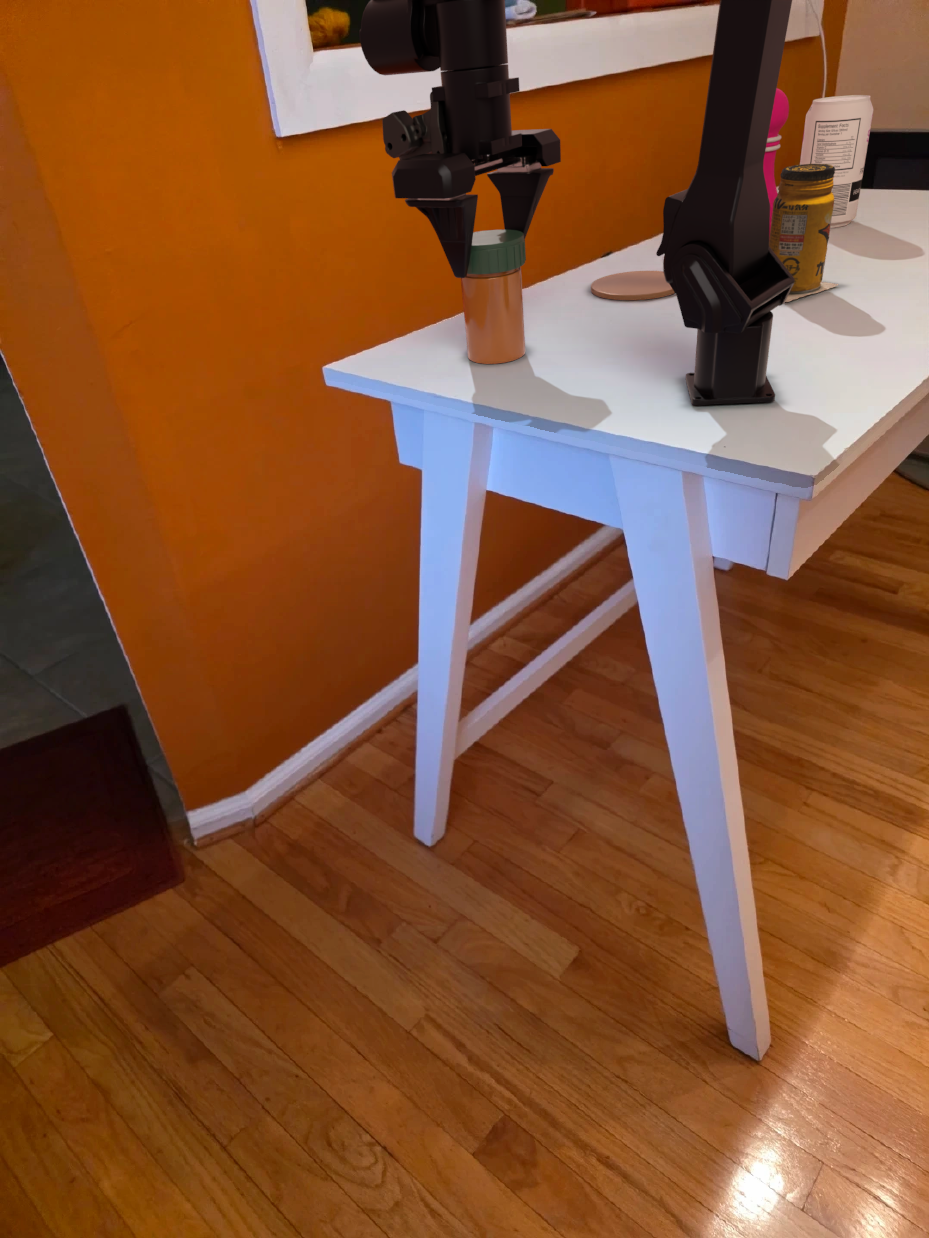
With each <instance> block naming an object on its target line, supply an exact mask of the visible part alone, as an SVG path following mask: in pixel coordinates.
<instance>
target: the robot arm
mask: <svg viewBox="0 0 929 1238" xmlns="http://www.w3.org/2000/svg"><path fill="white" fill-rule="evenodd" d="M792 4H793V0H719V5H718V13H717V20H716V27H715V34H714V35H715V36H714V42H713V50H712V57H711V65H710V72H709V78H708V79H709V80H708V86H707V87H708V88H707V95H706V100H705V101H706V103H705V109H704V115H703V116H704V117H703V124H702V132H701V139H700V147H699V152H698V153H699V155H698V160H697V166H696V170H695V173H694V175H693V177H692V179H691V182H690V183H689V185H688V187H687V189H684V190H682V191H679V192H676V193H674V194H672V195H669V196H667V197H666V198H665V199H664V204H663V209H662V217H663V221H662V222H663V228H662V231H663V232H662V237H661V241H660V245H659V247H658V249H657V251H656V252H655V253H656V256H657V257H661V256H663V255H664V256H663V259H662V260H663V261H662V263H663V264H662V270H663V272H664V276H665V280H666V282H667V283H669V284H670V286H671V287H672V289H673V290H674V292H675V293H674V294H675V295H676V299H677V302H678V306H679V311H680V314H681V317H682V322H683V326H684V327H685V328H686V329H695V330H697V331H696V345H695V359H694V360H695V362H694V372H687V373H686V374H685V382H686V387H687V389H688V390H687V391H688V394H689V398H690V402H691V404H692V405H696V406H707V405H708V406H709V405H710V406H711V405H729V404H730V405H731V404H732V405H733V404H734V405H735V404H753V403H756V404H757V403H772V402H775V400H776V393H775V391H774V389H773V387H772V384H771V383H770V381H769V379H768V376H767V371H768V370H767V369H768V363H769V362H768V361H769V354H770V345H771V338H772V329H773V321H774V313H773V312H772V311H773V310H774V309H776V308H777V307H780V306H782V305H783V304H785V303H786V302H785V301H786V299H787V297H788V295H789V293H790V291H791V289H792V287H793V284H794V282H795V280H794V277H793V276H792V275H791V273H790V272H789V271H788V270H787V268H786V267H785V266H784V265H783V263H782V262H781V261H780V259H779V258H778V257H777V256H776V254H775V253H774V252H773V251H772V249H771V248H770V247H769V226H770V202H769V197H768V192H767V187H766V182H765V177H764V171H763V162H764V155H765V150H766V144H767V139H768V133H769V127H770V122H771V116H772V111H773V105H774V99H775V94H776V88H778V82H779V77H780V71H781V66H782V65H781V64H782V59H783V55H784V48H785V42H786V37H787V31H788V26H789V21H790V20H789V19H790V14H791V9H792ZM358 35H359V43H360V47H361V51H362V53H363V56H364V59H365V60H366V62H367V64H368V66H369V67H370V68H371V69H372V70H373V72H375V73H377V74H378V75H382V76H393V75H405V74H416V73H428V72H435V71H437V70H438V69H440V80H441V83H440V84H441V85H437V86H433V87H431V92H430V93H429V102H430V109H428V110H427V111H426V112H424V113H422V114H418V115H414V116H413V117H412V116H411V115H410V114H409V112H408V111H406V110H405V109H404V110H399V111H394V112H391V113H389V114H387V115H386V116H384V117H383V118H382V119H381V120H382V121H381V122H382V139H383V143H384V150H385V153H386V154H387V155H388V156H389V157H390V158H392V159H399V160H397V162H396V164H395V165H394V168H393V170H392V172H391V178H392V187H393V193H394V194H393V195H394V198H395V199H404V201H405V204H406V205H407V206H408V208H409V207H410V208H416V209H417V210H418V211H419V212H420V213H421V214H422V215H424V216H425V217H426V218H427V220H429V221H428V222H430V225H431V227H432V229H433V230H434V232H435V234H436V236H437V239H438V240H439V243H440V245H441V248H442V250H443V252H444V255H445V257H446V259H447V262H448V264H449V266H450V269H451V271H452V273H453V276H454V277H455V278H456V279H461V278H465V277H466V276H467V272H468V267H469V262H470V254H471V246H472V239H473V232H475V221H476V216H477V208H478V200H479V195H478V194H473V193H472V191H473V188H474V185H475V183H476V179H477V178H476V177H477V176H480V175H483V174H486V176H487V178H489V180H490V182H491V183H492V185H493V186H494V187H495V189H496V190H497V192H498V193H499V197H500V205H501V212H502V213H501V214H502V220H503V228H504V230H517V231H520V232H522V233H523V234H524V240H525V241H526V237H527V235H528V232H529V230H530V227H531V224H532V221H533V218H534V216H535V213H536V210H537V208H538V205H539V202H540V200H541V198H542V195H543V193H544V191H545V189H546V187H547V184H548V181H549V179H550V177H551V176H553V175H554V171H555V169H554V168H553V167H551V166H552V165H553V166H554V165H556V164H558V163H561V162H562V159H561V158H562V157H561V155H562V154H561V153H562V152H561V150H562V149H561V138H560V137H559V136H558V135H557V134H556V133H555V131H554V130H553V129H552V128H543V129H542V128H539V129H536V128H535V129H515V130H513V129H512V111H511V110H512V109H511V94H513V93H518V92H520V77H510V74H509V56H508V55H509V54H508V38H507V37H508V35H507V19H506V1H505V0H369V1H368V3H367V4H366V6H365V7H364V10H363V12H362V16H361V21H360V29H359V32H358ZM469 193H472V194H469Z"/></svg>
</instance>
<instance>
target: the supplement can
mask: <svg viewBox="0 0 929 1238" xmlns="http://www.w3.org/2000/svg"><path fill="white" fill-rule="evenodd" d="M873 116H874V106H873V103H872V100H871V95H869V94H868V95H866V94H852V95H836V96H829V97H822V98H821V97H820V98H815V99H813V100H812V103H811V105H810V107H809V109H808V111H807V112H806V114H805V120H804V121H805V122H804V129H803V136H802V145H801V153H800V160H799V161H800V162H799V165H802V164H828V165H832V166H833V167H835V174H834V178H833V184H834V185H833V188H832V193H833V195H834V207H833V213H832V219H831V226H830V229H833V228H840V227H844V226H845V227H846V226H847V225H849V224H851V222H852V221H854V219H856V217H857V213H858V206H859V200H860V194H861V189H862V182H863V176H864V170H865V164H866V158H867V152H868V147H869V146H868V145H869V140H870V133H871V127H872V121H873Z"/></svg>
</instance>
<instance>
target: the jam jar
mask: <svg viewBox="0 0 929 1238" xmlns="http://www.w3.org/2000/svg"><path fill="white" fill-rule="evenodd" d="M522 278H523V276H522V266H521V267H519V268H516V269H513V270H510V271H505V272H500V273H493V274H467V276H466V277H465V278H460V284H461V296H462V307H463V317H464V328H465V338H466V339H465V340H466V349H467V350H466V351H467V358H468V359H469V360H470V362H473V363H477V364H483V365H496V364H497V365H498V364H504V363H505V364H506V363H509V362H513V361H516V360H519V359H520V358H522V357H523V356H525V354H526V337H525V319H524V317H525V316H524V302H523V301H524V297H523V279H522Z"/></svg>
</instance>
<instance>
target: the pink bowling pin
mask: <svg viewBox="0 0 929 1238" xmlns="http://www.w3.org/2000/svg"><path fill="white" fill-rule="evenodd" d="M789 103H790V102H789V99H788V97H787V95H786V94H785V92H783V90H782V89H780V88H778V87H777V88H776V94H775V99H774V105H773V111H772V116H771V122H770V127H769V133H768V139H767V144H766V150H765V155H764V162H763V171H764V177H765V182H766V187H767V192H768V197H769V202H770V226H769V237H770V229H771V221H772V212H773V203H774V200H775V198H776V197H777V194H778V188H777V185H776V179H775V160H776V156H777V155H776V154H777V150H780V148H781V142H780V140H781V139H782V135H781V134H779V132H780V131H781V129H782V128H783V126H785V124H786V122H787V120H788V118H789V114H790V113H789V112H790V104H789Z"/></svg>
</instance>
